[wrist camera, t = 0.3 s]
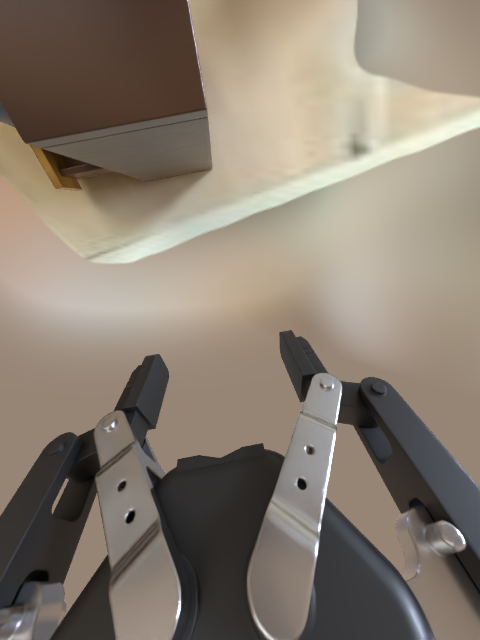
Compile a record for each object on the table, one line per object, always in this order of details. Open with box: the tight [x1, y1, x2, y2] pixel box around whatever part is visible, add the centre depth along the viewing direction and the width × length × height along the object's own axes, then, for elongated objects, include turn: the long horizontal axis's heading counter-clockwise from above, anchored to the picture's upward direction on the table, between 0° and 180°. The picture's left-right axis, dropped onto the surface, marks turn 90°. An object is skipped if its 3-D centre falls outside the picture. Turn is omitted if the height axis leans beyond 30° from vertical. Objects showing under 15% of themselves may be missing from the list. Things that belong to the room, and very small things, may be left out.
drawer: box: [30, 145, 114, 191], centre depth 23 cm, size 12×11×4 cm
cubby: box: [0, 0, 212, 181], centre depth 17 cm, size 13×11×22 cm
